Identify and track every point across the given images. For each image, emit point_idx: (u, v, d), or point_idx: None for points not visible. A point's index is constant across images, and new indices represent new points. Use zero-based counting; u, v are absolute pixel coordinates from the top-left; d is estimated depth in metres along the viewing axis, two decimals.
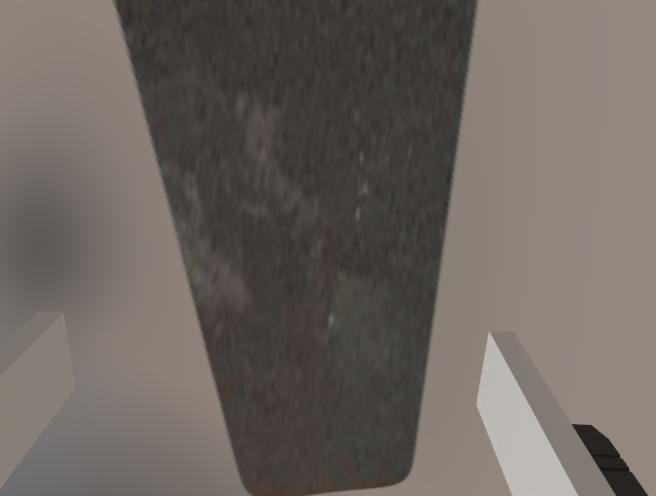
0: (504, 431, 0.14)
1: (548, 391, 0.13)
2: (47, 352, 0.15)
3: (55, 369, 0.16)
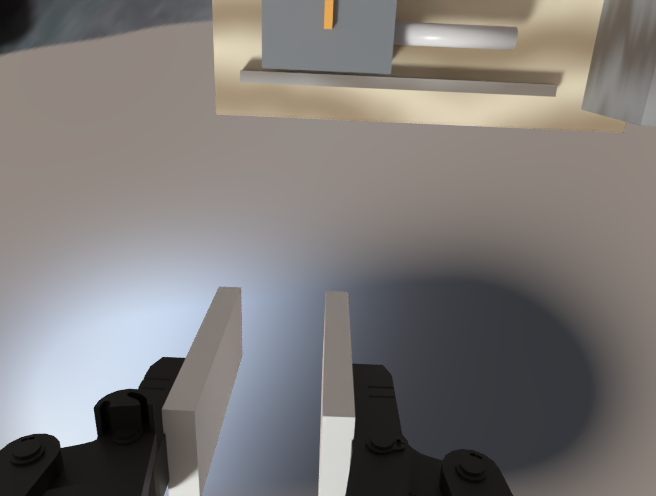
0: None
1: (348, 336, 0.15)
2: (235, 320, 0.17)
3: (237, 336, 0.18)
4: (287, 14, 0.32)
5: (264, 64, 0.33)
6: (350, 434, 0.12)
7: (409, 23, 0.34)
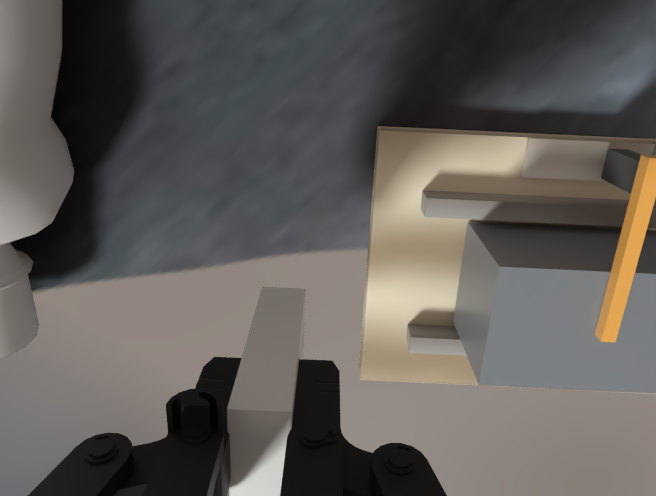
0: None
1: (298, 332, 0.15)
2: None
3: None
4: (536, 312, 0.19)
5: (484, 380, 0.20)
6: (287, 428, 0.12)
7: None
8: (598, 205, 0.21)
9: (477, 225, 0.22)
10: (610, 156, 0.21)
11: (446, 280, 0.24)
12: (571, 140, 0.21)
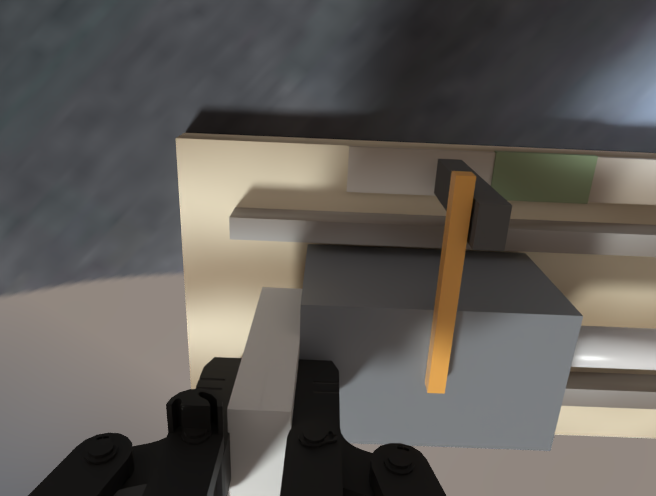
0: None
1: (298, 332, 0.15)
2: None
3: None
4: (352, 357, 0.16)
5: None
6: (287, 428, 0.12)
7: (578, 335, 0.18)
8: (431, 224, 0.18)
9: (316, 248, 0.19)
10: (438, 168, 0.18)
11: None
12: (399, 149, 0.18)
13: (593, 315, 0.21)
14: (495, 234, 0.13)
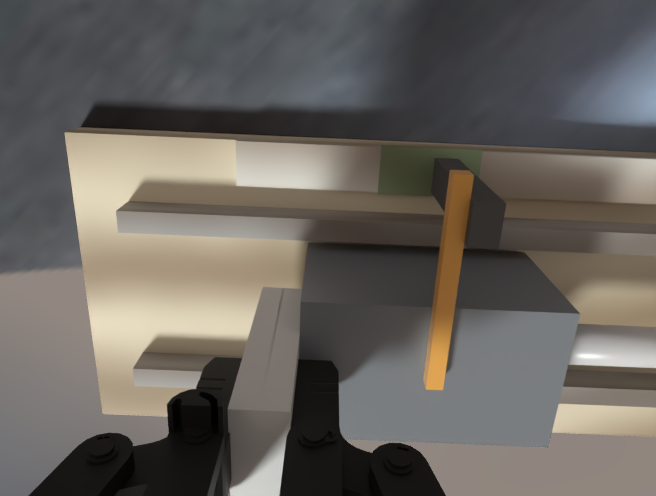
0: None
1: (297, 332, 0.15)
2: None
3: None
4: (351, 355, 0.16)
5: None
6: (286, 428, 0.12)
7: (575, 333, 0.18)
8: (317, 218, 0.18)
9: (316, 247, 0.19)
10: (435, 167, 0.18)
11: (176, 303, 0.21)
12: (285, 143, 0.18)
13: None
14: (489, 232, 0.13)
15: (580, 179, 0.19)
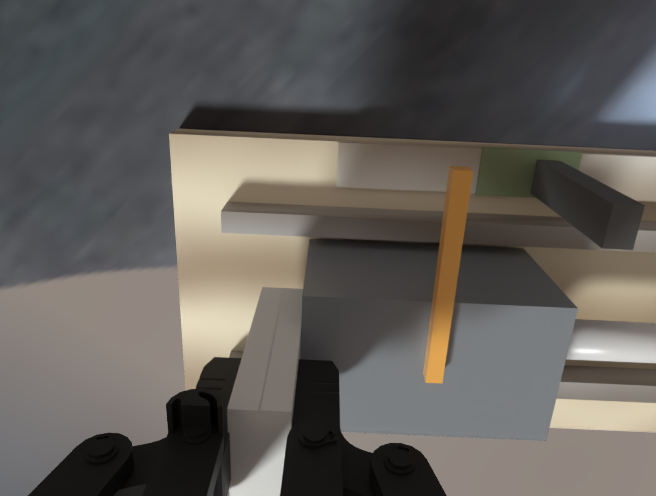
0: None
1: (298, 332, 0.15)
2: None
3: None
4: (352, 348, 0.16)
5: None
6: (287, 428, 0.12)
7: (574, 328, 0.18)
8: (418, 218, 0.19)
9: (317, 243, 0.19)
10: (538, 168, 0.18)
11: None
12: (387, 145, 0.19)
13: (580, 309, 0.21)
14: (625, 233, 0.14)
15: None
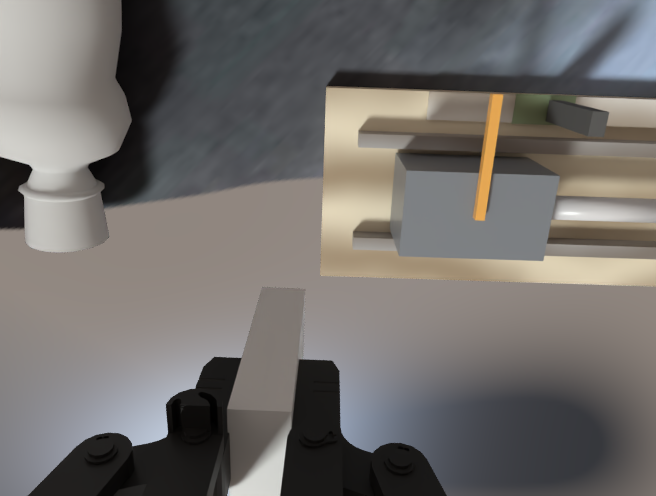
0: None
1: (298, 332, 0.15)
2: None
3: None
4: (433, 202, 0.28)
5: (402, 252, 0.29)
6: (287, 428, 0.12)
7: (558, 199, 0.30)
8: (478, 137, 0.31)
9: (401, 154, 0.32)
10: (550, 105, 0.30)
11: (378, 197, 0.33)
12: (458, 92, 0.31)
13: None
14: (599, 127, 0.26)
15: (633, 113, 0.31)
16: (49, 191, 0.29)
